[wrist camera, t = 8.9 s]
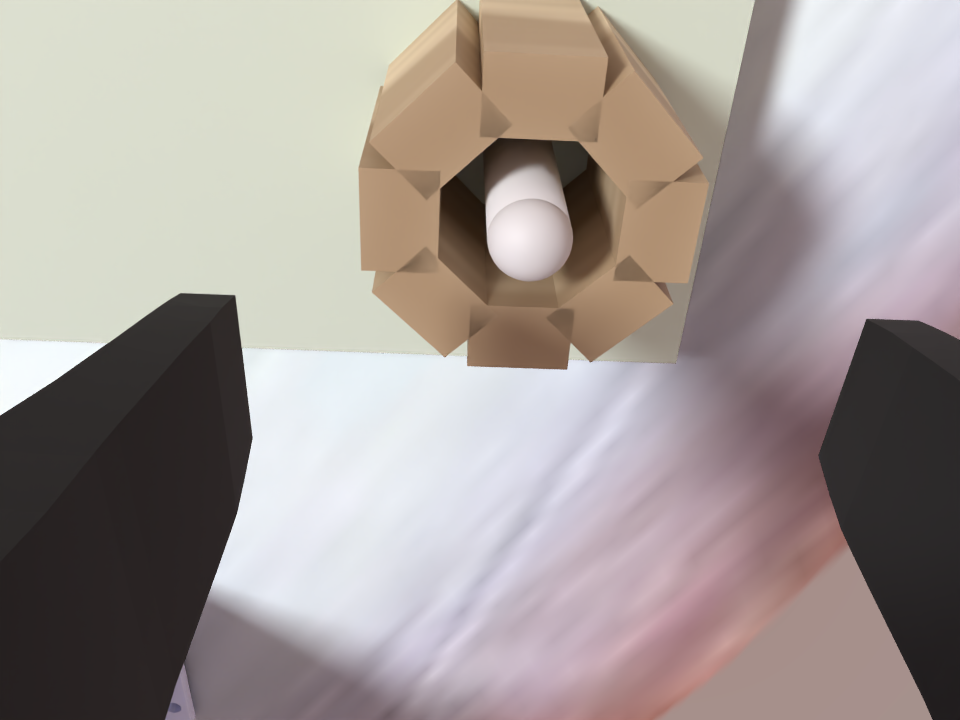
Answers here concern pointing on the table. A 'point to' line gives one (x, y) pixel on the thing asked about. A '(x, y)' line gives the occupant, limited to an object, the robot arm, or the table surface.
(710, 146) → the board
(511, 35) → the bead
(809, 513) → the table surface
